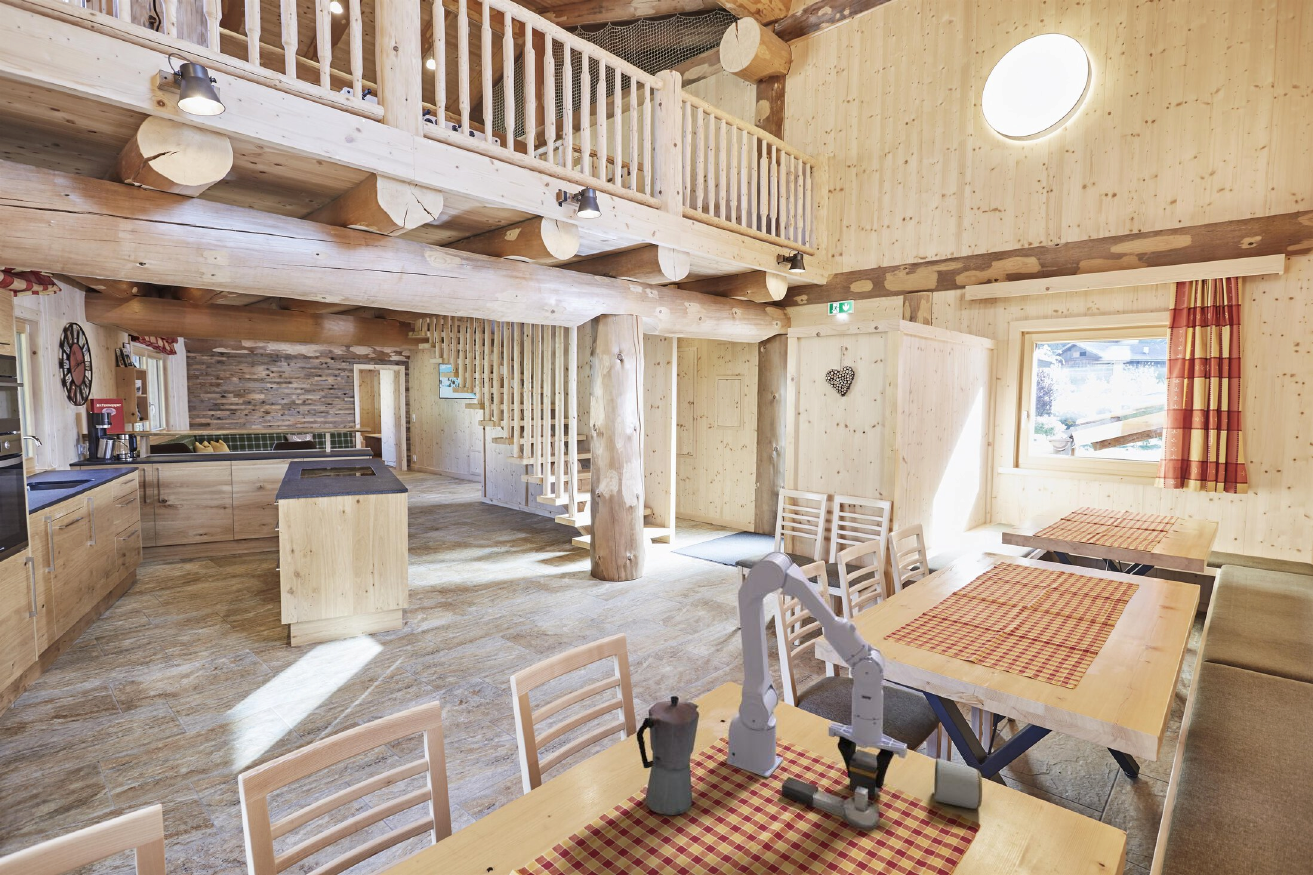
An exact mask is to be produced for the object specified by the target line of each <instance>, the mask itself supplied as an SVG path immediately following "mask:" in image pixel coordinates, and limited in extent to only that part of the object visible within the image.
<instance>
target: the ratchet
mask: <svg viewBox="0 0 1313 875" xmlns="http://www.w3.org/2000/svg"><path fill="white" fill-rule="evenodd" d="M781 796H782V797H784V798H787V799H790V800H792V801H795V802H798V803H800V804H803V805H806V806H808V807H811V808H817V809H819V810H822V811H825V812H826V813H830V814H833V815H836V816H839V817H841V818H843V819H844V822H846V824H848V826H850V827H852V828H854V829H856V830H861V831H871V830H874V829H876V828H878V826H879V816H880V814H879V812H880V810H879V808H878V806H877V804H876V803H874V802H873V801H871V800H869V797H868V789H865V788H862V787H859V786H858V787H857V788H856V790H855V792H854V796H853V797H849V798H847V799H845V798H841V797H839V796H836V795H834V794H831V793H828V792H825V791H822V790H819V787H818V786H816V785H814V784H811V783H808V782H805V781H802V780H799V779H796V778H793V777H790V776H788V777H787V778H786V779H785V781H783V783H782V784H781Z"/></svg>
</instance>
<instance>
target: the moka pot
mask: <svg viewBox="0 0 1313 875" xmlns="http://www.w3.org/2000/svg"><path fill="white" fill-rule="evenodd" d="M679 700H680V699H679V697H678V696H676V695H671V696H670V700H664V701H657V702H655V703H654V704H653V705H652V706H651V707H650V708H649V709H648V717H645V718H644V719H643V721H642V725H641V726H640V727H639V728H638V730H637V732H636V742H637V745H638V748H639V753H640V757H641V762H642V765H643V768H644V769H650V773H649V779H648V782H647V789H646V793H645V799H644V800H645V804H646V806H647V807H648V808H649V809H650V811H652V812H654V813H657V814H660V815H665V816H666V815H667V816H676V815H682V814H684V813H686V812H687V811H689V810H690V809H691V807H692V804H693V790H692V779H691V778H692V777H691V776H692V775H691V755H692V754H693V752H694V746H695V743H696V742H695V741H696V737H697V736H696V735H697V730H698V725H699V724H698V723H699V718H700V713H699V711H698V710H697V709H698V708H699V705H698V704H695V703H694V702H690V701H685V702H684V701H683V702H682V701H679ZM647 729H649V740H650V749H651V751H652V754H651V755H652V756H651V757H652V758H651V760H650V761H649V760H648V757H647V752H646V751H647V750H646V743H645V741H646V740H645V739H644V733H645V730H647Z"/></svg>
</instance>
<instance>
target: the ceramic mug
mask: <svg viewBox="0 0 1313 875" xmlns="http://www.w3.org/2000/svg"><path fill="white" fill-rule="evenodd" d="M933 783H934V784H933V792H934V794H933V795H934V800H935V802H939V803H942V804H947V805H948V804H949V805H953V806H957V807H962V808H967V809H974V810H975V809H977V810H978V809H979V808H980V807H981V806H982V801H983V779H982V773H981V772H980V771H979V769H976V768H974V767H972V766H968V765H965V764H961V763H956V762H954V761H949V760H946V759H941V758H936V759H935V764H934V782H933Z"/></svg>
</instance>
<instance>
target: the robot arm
mask: <svg viewBox="0 0 1313 875" xmlns="http://www.w3.org/2000/svg"><path fill="white" fill-rule="evenodd" d="M780 589H782V590H781V591H780V593H779V594H780V595H782V596H787V597H794V598H795V599H797V600H798V601H799V602H800V603H801V604H802V606H803V607H804V608H805V609H806V610H807V612H809V613H810V614H811V616H812V617H813V618H814V619H815V620H816V621H817V622H818V623H819V624H820V625H821V626H822V627H823V630H824V631H823V638H824V639H825V640H826V641H827V642H828V644H829V645H830V646H831V648H832V649H833V650H834V651H835V652H836V653H837V655H839V657H840V659H842V661H844V663H845V664H846V665H847V666H849V667H850V668H851V669H850V675H851V676H850V677H851V678H852V680H853V685H852V693H851V697H852V699H851V725H848V724H847V725H845V724H839V723H834V722H831V723H830V724H829V726H828V737H830V738H835V737H837V738H838V739H839V740H838V742H837V749H838V751H839V752H840V754H841V756H842V759H843V762H844V765H845V767H846V771H847V776H848V777H847V778H848V779H849V780H850V770H849V766H850V760H851V758H852V757H853V755H854V754H855V752H856V751H857V747H858V748H861V749H867V748H874V749H878V750H879V751H878V752H877V754H876V755H877V756H876V759H877V769H878V775H877V788H879V789H880V790H882V788H883V786H884V784H885V777H886V774H887V770H888V768H889V766H890V764H891V761H892V759H893V757H894V756H895V755H897V756H898V757H899V758H900V759H901V758H902V759H905V758H906V756H907V754H908V753H907V752H908V750H907V749H908V744H907V743H903V742H901V741H899V740H896V739H894V738H892V737H891V736H888V735H886V734H884V733H883V728H884V726H883V724H884V723H883V722H884V721H883V720H884V690H883V689H884V682H883V681H884V671H885V667H886V666H885V665H886V664H885V658H884V656H883V654H882V653H881V651H880V650H879V649H878V648H876V647H875V646H873V645H872V644H871V643H868V642H867V641H866V640H865V639H864V638H863V637H862V635H861V634H860V632H858V630H857V628H858V626H857V624H855V622H854V621H851V622H850V621H849V620H848V619H847V618H846V617H841V616H837V615H836V614H835V612H834V611H833V610H832V609H831V607H830V606H829V605H828V604H827V602H826V601H825V600H824V598H823V597H822V596H821V595H820V593H819V592H818V591H817V590H816V589H815V587H814V586H813V585H812V583H811V582H810V580H809V579H808V578H807V576H806V575H805V574H804V572H803V571H802V569H801V568H800V567H799V566H798V565H797V564H796V563H795V562H793V561H792V559H791V557H790V556H789V555H788V554H786V553H785V552H782V551H779V550H775V551H772V552H771V551H770V552H769V553H768V554H767V555H765V556H764V557H763V558H761V560H759V561H758V563H756V564H755V565H754V566H753V567H751V568H750V569H749V570H748V573H747V575H746V577H745V579H744V581H743V582H742V584H741V585H740V587H739V589H738V592H737V597H738V598H737V599H738V600H737V601H738V611H739V621H740V622H739V623H740V636H741V637H740V638H741V645H742V646H741V649H742V660H743V672H744V680H743V684H742V689H741V701H740V704H739V706H738V714H737V713H736V714H735V715H734V716H733V717H732V719H731V721H730V723H729V727H728V740H727V741H728V749H727V751H728V752H727V753H728V754H727V759H726V764H729V765H730V766H734V767H736V768H739V769H742V770H745V771H748V772H749V773H750V772H751V773H753V774H757V775H759V776H761V777H764V778H769V777H770V776H771V775H772V774H773V773H774V771H775V770H777V768H778V767H779V766H780V765H781V764H782V763H783V761H784V758H783V757H782V756H778V755H777V719H776V716H775V713H774V710H775V709H776V707H777V706H778V704H779V698H780V697H779V693H778V691H777V689H776V687H775V686H774V682H773V681H774V679H773V677H772V675H771V674H770V667H769V657H768V656H769V655H768V654H769V653H768V644H767V643H768V642H767V631H766V630H767V629H766V619H765V618H766V617H765V607H764V599H765V598H766V597H767V596H768V595H770V594H772V593H774V592H776V591H778V590H780Z"/></svg>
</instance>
